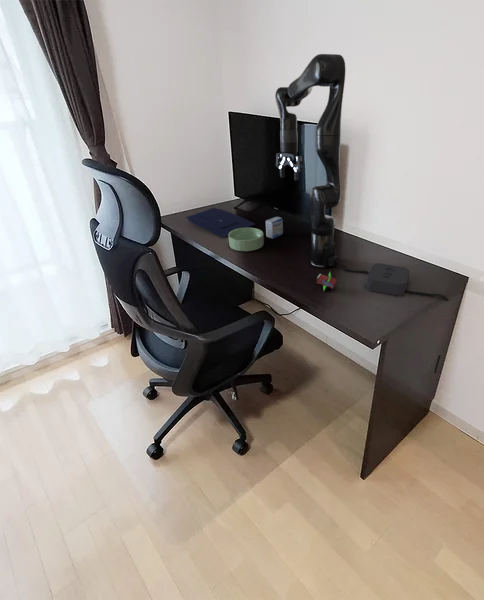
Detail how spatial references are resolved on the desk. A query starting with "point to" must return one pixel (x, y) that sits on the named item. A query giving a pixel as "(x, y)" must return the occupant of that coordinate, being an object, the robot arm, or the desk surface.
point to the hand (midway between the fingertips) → (289, 178)
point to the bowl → (246, 239)
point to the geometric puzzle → (326, 281)
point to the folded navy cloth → (219, 221)
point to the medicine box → (274, 227)
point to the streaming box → (388, 279)
